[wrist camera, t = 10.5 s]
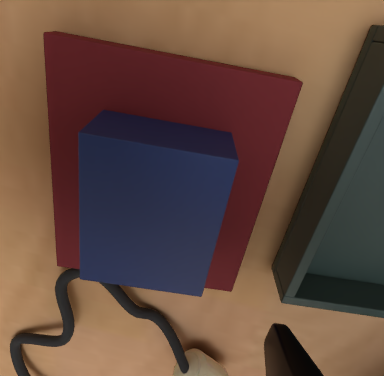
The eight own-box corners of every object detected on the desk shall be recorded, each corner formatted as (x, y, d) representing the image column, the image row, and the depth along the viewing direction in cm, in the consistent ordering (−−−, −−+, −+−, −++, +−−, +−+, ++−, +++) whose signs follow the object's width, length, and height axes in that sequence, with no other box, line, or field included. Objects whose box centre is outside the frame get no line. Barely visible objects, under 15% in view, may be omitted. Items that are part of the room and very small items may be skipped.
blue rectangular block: (201, 253, 18) (201, 297, 15) (99, 237, 17) (79, 279, 15) (232, 132, 14) (239, 160, 11) (103, 109, 14) (77, 132, 11)
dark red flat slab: (230, 278, 20) (231, 292, 19) (64, 253, 20) (56, 266, 19) (295, 77, 14) (303, 82, 13) (55, 31, 13) (42, 31, 12)
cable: (-46, 333, 24) (-81, 378, 21) (103, 242, 19) (85, 284, 16) (93, 417, 30) (80, 462, 27) (233, 364, 25) (238, 411, 22)
